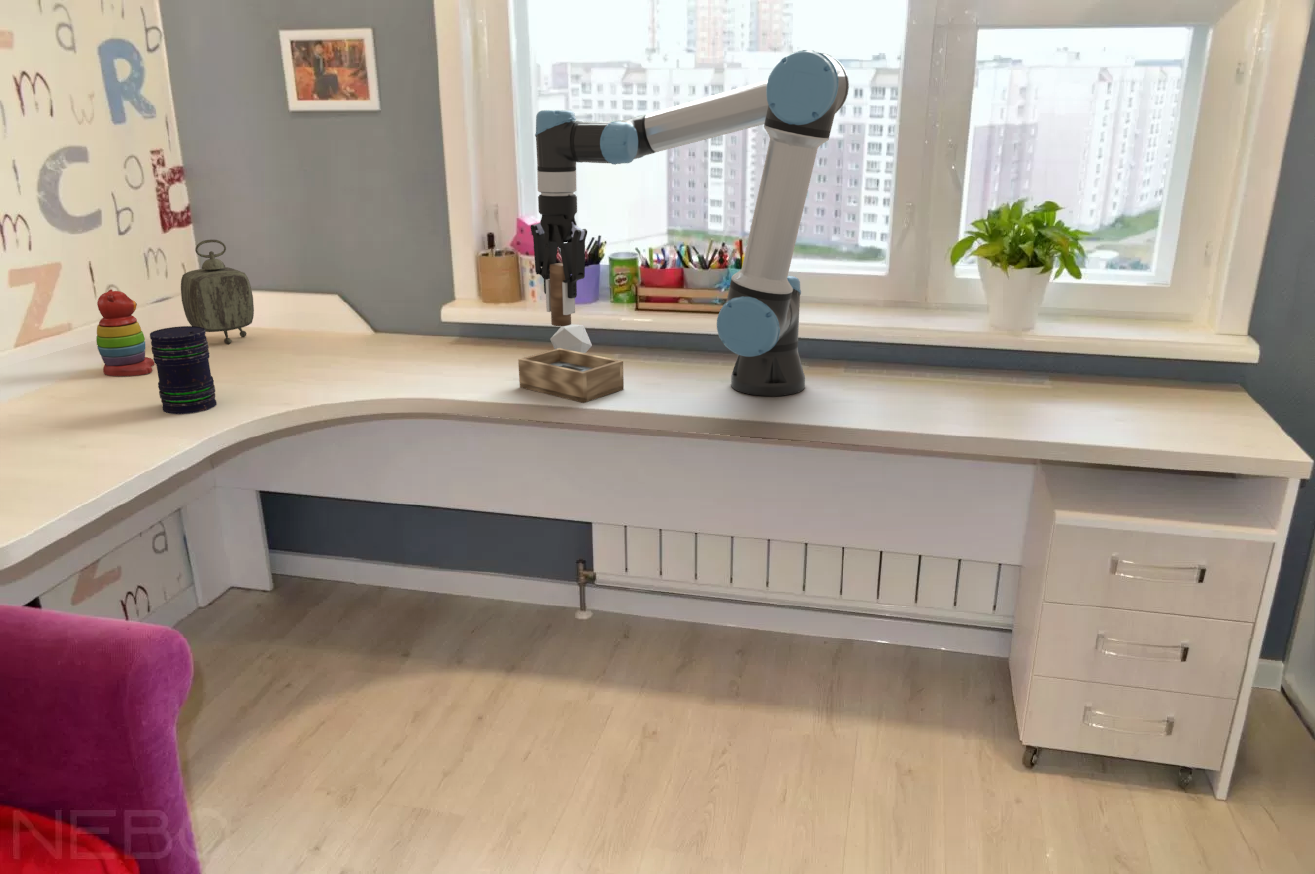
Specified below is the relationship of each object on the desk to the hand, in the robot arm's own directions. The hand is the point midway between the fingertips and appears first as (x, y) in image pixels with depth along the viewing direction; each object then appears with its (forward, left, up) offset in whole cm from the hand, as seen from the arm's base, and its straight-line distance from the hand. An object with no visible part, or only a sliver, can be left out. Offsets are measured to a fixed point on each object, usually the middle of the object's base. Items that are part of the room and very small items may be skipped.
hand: (560, 312), depth 201 cm
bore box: (-2, 0, -16) cm, 16 cm away
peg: (0, 0, -2) cm, 2 cm away
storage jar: (+48, +55, -16) cm, 75 cm away
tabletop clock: (+93, +23, -16) cm, 97 cm away
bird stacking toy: (+85, +50, -16) cm, 100 cm away
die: (+15, -18, -16) cm, 28 cm away
